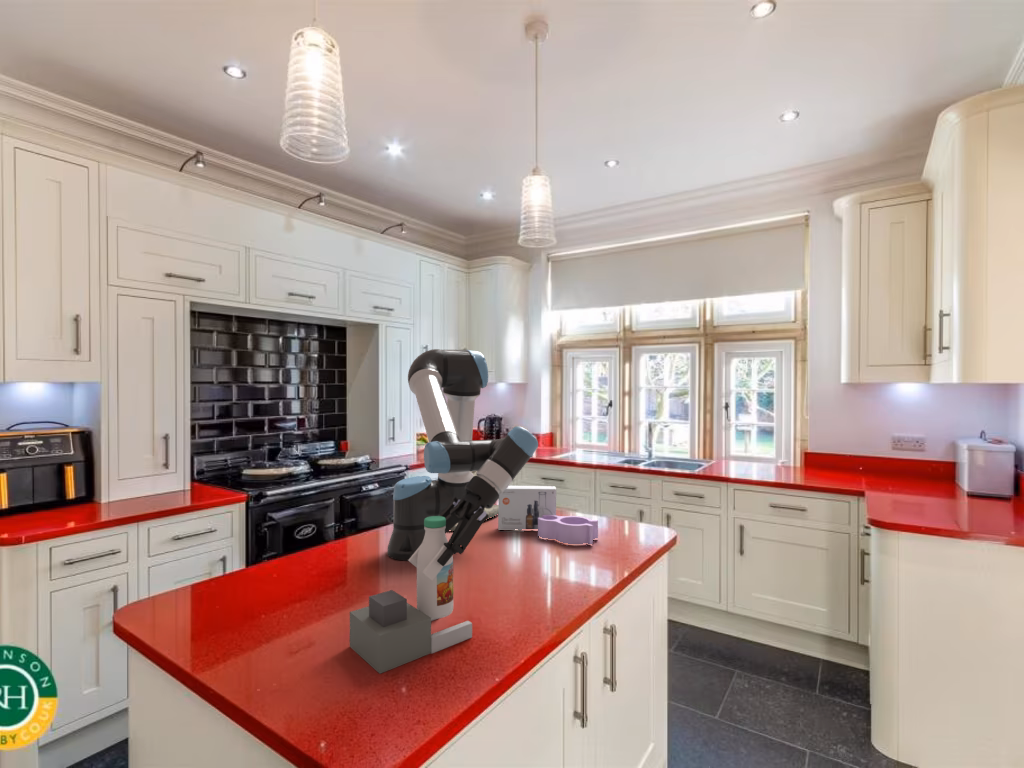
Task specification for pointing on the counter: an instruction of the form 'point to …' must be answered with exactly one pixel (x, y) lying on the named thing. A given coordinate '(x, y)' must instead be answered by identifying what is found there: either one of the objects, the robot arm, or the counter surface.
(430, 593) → the milk bottle
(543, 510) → the skincare box
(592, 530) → the clip
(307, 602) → the counter surface
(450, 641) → the stacked grey blocks
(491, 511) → the long grey stone
